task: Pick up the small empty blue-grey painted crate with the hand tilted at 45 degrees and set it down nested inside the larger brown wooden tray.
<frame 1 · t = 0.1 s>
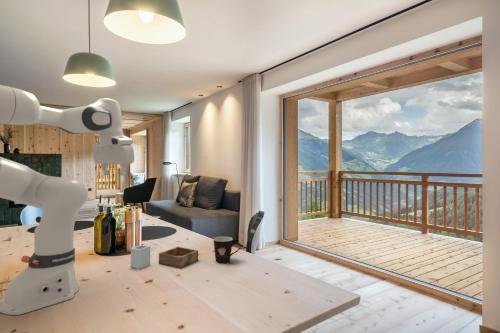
hand: (114, 175, 123), 39 cm above the table, tool pointing down, fingers open, 8 cm apart
small crate: (140, 265, 130), on the table
brown wooden tray: (178, 262, 136), on the table
coffee mug: (225, 262, 137), on the table
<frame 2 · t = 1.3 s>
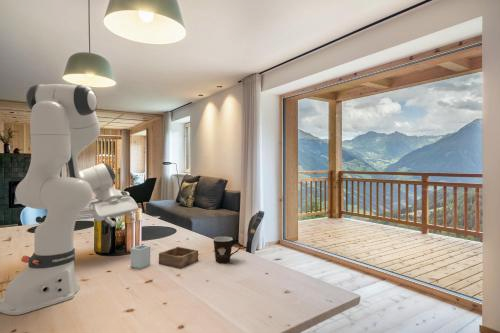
hand: (123, 223, 136), 17 cm above the table, tool tilted 45°, fingers open, 8 cm apart
nothing on the table moved.
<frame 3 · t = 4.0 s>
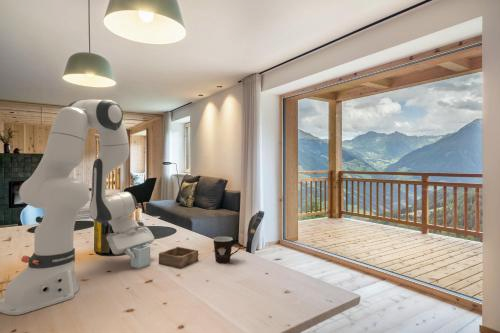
hand: (141, 255, 130), 4 cm above the table, tool tilted 45°, fingers closed on small crate, 6 cm apart
small crate: (140, 265, 130), on the table, touching gripper
everything else where it was.
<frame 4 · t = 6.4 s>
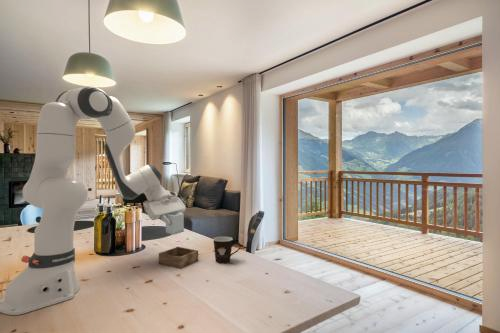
hand: (176, 222, 135), 18 cm above the table, tool tilted 45°, fingers closed on small crate, 6 cm apart
small crate: (174, 232, 136), point 13 cm above the table, touching gripper
everything else where it was.
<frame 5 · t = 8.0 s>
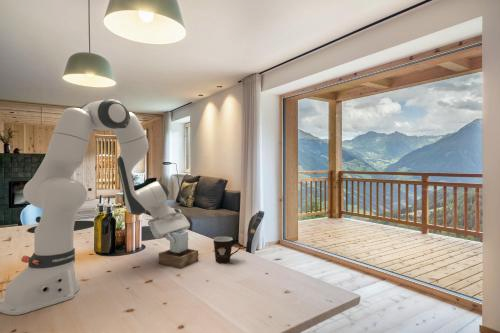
hand: (180, 240, 136), 10 cm above the table, tool tilted 45°, fingers closed on small crate, 6 cm apart
small crate: (179, 250, 136), point 5 cm above the table, touching gripper
everything else where it was.
when the fingers open (7 cm above the table, at t = 9.1 s): small crate drops 1 cm, resting on brown wooden tray.
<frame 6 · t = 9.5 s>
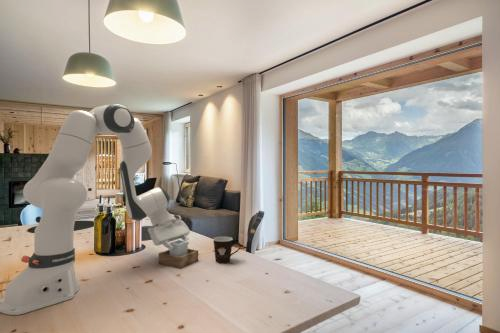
hand: (179, 247, 135), 7 cm above the table, tool tilted 45°, fingers open, 8 cm apart
small crate: (178, 260, 136), point 1 cm above the table, touching brown wooden tray
everything else where it was.
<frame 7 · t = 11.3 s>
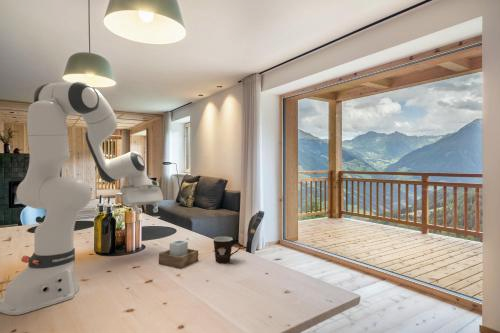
hand: (147, 213, 140), 21 cm above the table, tool tilted 25°, fingers open, 8 cm apart
nothing on the table moved.
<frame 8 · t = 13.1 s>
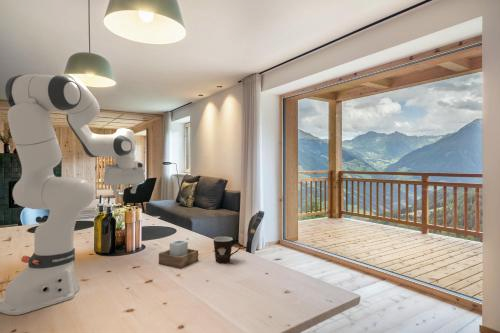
hand: (124, 194, 142), 29 cm above the table, tool pointing down, fingers open, 8 cm apart
nothing on the table moved.
at the end: small crate 0.1 cm off-centre on the brown wooden tray, point 0.8 cm above the brown wooden tray's base; small crate tilted 0°; the gripper is holding nothing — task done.
